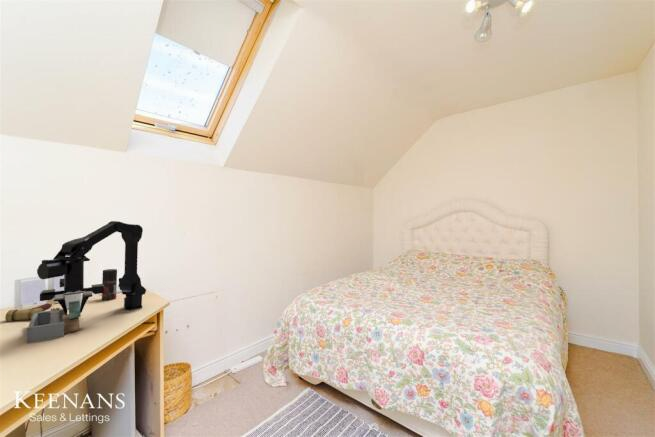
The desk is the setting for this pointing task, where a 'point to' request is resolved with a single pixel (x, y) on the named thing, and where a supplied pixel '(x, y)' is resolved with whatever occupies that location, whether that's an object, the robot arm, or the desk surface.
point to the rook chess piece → (54, 315)
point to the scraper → (72, 317)
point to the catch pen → (44, 327)
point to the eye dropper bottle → (72, 298)
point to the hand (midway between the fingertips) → (73, 313)
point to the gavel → (25, 313)
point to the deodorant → (109, 284)
